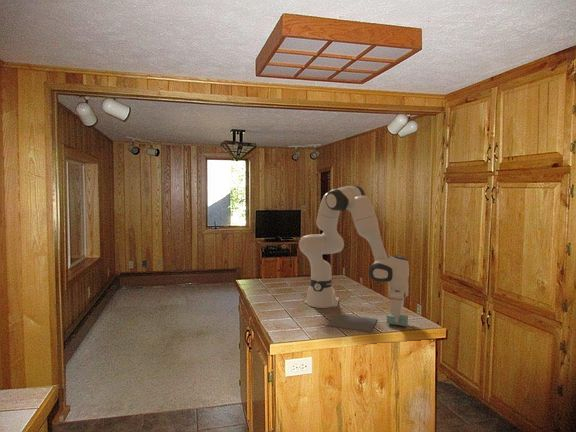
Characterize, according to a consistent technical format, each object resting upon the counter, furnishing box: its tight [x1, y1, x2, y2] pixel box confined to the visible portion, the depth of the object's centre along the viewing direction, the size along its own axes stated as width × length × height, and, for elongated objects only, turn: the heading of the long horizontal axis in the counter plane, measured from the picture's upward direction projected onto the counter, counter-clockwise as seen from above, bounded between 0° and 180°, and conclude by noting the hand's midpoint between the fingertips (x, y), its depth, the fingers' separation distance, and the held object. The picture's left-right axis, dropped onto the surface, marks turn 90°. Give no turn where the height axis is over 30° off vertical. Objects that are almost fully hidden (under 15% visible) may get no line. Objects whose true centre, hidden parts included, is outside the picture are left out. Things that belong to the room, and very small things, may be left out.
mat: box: [326, 313, 378, 333], centre depth 181 cm, size 18×20×1 cm
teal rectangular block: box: [386, 312, 409, 327], centre depth 179 cm, size 4×9×4 cm, turn 66°
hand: (397, 319), depth 179 cm, fingers closed on teal rectangular block, 5 cm apart
